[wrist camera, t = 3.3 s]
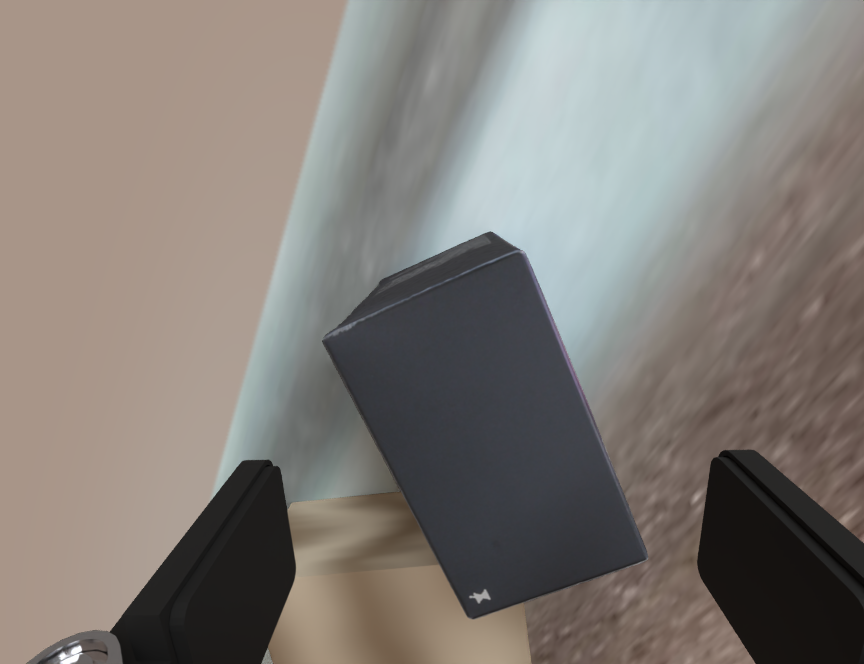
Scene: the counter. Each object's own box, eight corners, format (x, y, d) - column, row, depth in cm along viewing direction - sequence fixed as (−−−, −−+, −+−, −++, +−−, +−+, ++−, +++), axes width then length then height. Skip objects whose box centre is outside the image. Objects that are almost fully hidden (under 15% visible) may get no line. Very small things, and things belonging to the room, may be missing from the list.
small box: (578, 415, 24) (664, 569, 14) (462, 459, 25) (464, 632, 15) (498, 223, 22) (533, 241, 12) (374, 281, 23) (307, 343, 13)
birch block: (504, 477, 26) (517, 557, 20) (529, 674, 29) (547, 791, 23) (293, 499, 27) (247, 581, 21) (342, 686, 30) (315, 800, 24)
